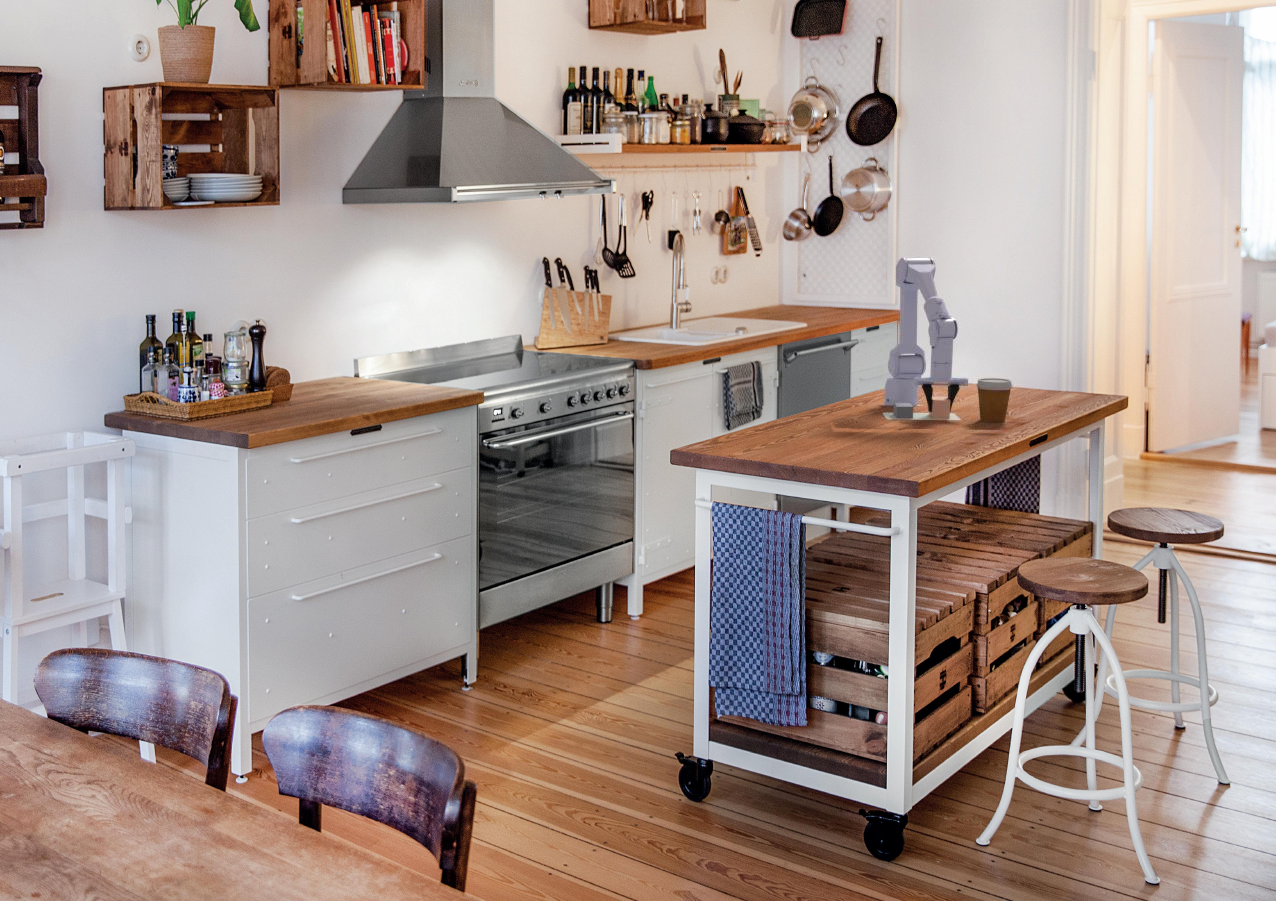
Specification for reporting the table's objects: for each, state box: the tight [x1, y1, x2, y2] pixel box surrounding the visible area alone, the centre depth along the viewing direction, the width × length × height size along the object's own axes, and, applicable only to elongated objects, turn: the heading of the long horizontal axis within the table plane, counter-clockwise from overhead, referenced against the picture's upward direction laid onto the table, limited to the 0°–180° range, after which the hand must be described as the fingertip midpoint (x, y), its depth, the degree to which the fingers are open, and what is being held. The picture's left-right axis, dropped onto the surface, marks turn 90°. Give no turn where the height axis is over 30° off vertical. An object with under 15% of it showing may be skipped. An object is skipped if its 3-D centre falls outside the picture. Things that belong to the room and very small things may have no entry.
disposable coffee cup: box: [975, 377, 1013, 423], centre depth 340 cm, size 10×10×12 cm
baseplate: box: [882, 412, 962, 421], centre depth 348 cm, size 20×12×1 cm, turn 85°
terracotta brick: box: [928, 396, 951, 419], centre depth 347 cm, size 4×7×5 cm, turn 175°
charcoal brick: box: [892, 403, 914, 418], centre depth 348 cm, size 4×7×3 cm, turn 175°
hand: (939, 411), depth 347 cm, fingers closed on terracotta brick, 4 cm apart
